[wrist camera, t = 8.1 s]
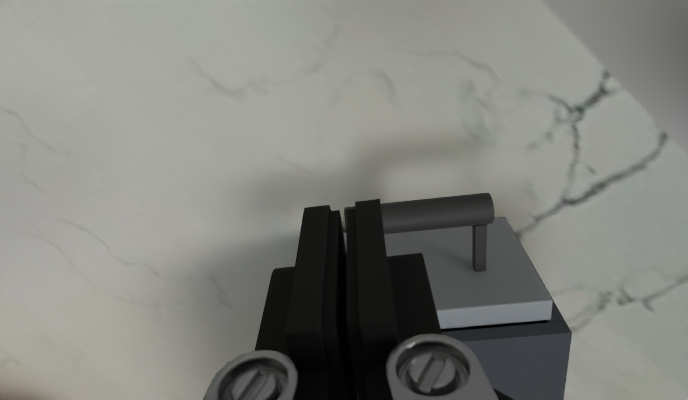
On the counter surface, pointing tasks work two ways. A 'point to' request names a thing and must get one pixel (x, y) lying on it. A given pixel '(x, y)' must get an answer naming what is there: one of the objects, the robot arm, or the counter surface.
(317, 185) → the counter surface
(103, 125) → the counter surface
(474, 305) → the drawer
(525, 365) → the cabinet
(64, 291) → the counter surface
